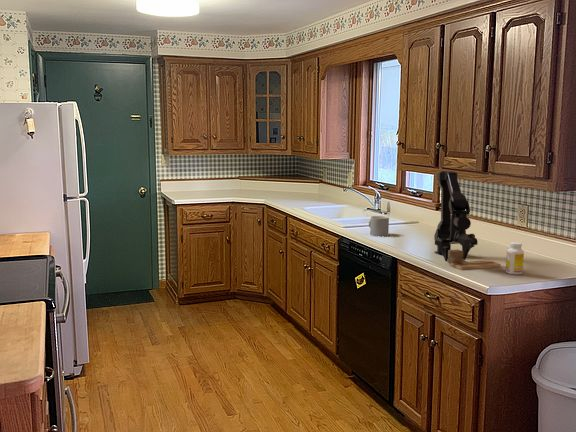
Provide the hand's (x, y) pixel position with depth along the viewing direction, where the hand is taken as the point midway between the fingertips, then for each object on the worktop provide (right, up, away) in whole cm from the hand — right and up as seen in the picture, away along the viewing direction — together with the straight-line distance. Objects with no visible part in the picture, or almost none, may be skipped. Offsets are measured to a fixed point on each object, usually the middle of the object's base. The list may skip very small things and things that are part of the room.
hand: (455, 260), depth 264 cm
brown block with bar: (+1, -2, -3) cm, 3 cm away
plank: (+8, -2, -4) cm, 9 cm away
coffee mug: (-24, +9, +69) cm, 74 cm away
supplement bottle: (+20, -4, -15) cm, 26 cm away
